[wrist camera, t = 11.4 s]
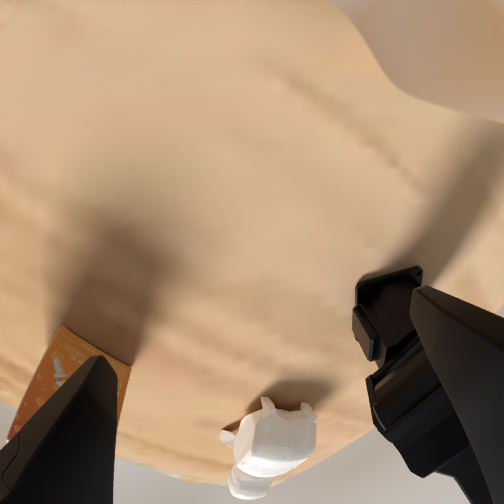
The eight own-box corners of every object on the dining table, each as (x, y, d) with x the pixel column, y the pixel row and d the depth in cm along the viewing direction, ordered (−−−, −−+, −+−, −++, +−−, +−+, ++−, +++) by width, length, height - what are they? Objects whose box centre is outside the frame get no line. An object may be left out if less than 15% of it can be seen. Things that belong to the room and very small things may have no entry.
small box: (133, 365, 25) (109, 490, 14) (109, 392, 27) (87, 497, 16) (60, 321, 22) (4, 439, 11) (45, 354, 24) (3, 455, 13)
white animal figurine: (242, 378, 32) (204, 464, 32) (263, 423, 24) (214, 510, 24) (306, 390, 34) (261, 470, 34) (337, 429, 26) (279, 511, 26)
